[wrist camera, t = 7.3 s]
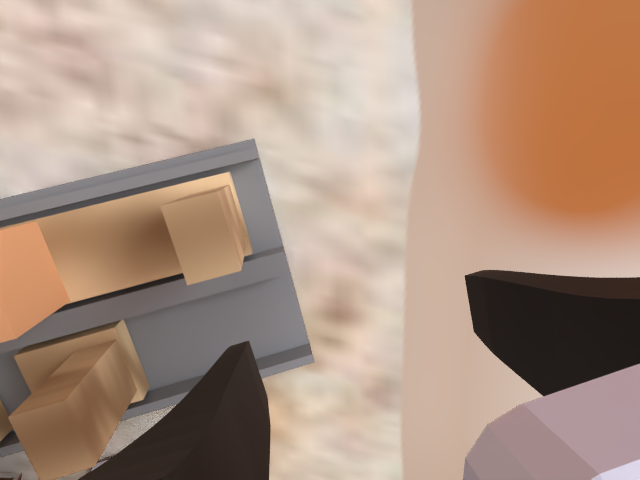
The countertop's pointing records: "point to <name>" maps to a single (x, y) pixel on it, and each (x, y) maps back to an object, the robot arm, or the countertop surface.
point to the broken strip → (74, 397)
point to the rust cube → (27, 281)
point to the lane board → (175, 288)
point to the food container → (10, 476)
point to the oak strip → (149, 238)
